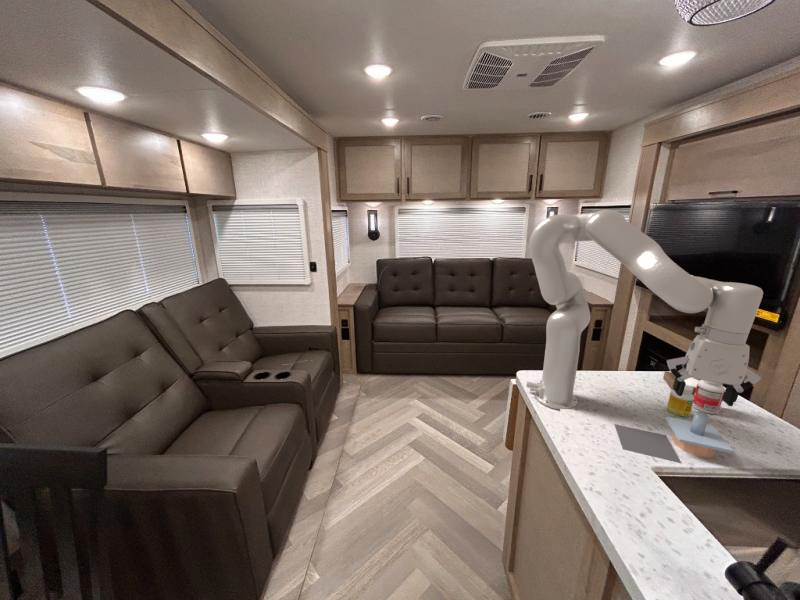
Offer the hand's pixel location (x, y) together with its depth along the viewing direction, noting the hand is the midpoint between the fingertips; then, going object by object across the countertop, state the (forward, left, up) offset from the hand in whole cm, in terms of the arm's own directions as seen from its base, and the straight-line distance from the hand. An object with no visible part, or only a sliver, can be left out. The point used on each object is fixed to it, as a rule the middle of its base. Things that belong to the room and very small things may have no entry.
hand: (701, 398), depth 78 cm
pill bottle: (+12, +24, -15) cm, 30 cm away
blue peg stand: (+1, 0, -10) cm, 10 cm away
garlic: (+13, +37, -15) cm, 42 cm away
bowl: (+1, 0, -15) cm, 15 cm away
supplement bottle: (+3, +17, -15) cm, 23 cm away
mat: (-10, -3, -15) cm, 18 cm away
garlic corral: (+12, +37, -15) cm, 41 cm away
